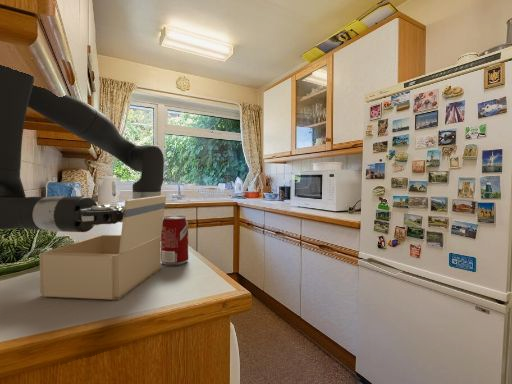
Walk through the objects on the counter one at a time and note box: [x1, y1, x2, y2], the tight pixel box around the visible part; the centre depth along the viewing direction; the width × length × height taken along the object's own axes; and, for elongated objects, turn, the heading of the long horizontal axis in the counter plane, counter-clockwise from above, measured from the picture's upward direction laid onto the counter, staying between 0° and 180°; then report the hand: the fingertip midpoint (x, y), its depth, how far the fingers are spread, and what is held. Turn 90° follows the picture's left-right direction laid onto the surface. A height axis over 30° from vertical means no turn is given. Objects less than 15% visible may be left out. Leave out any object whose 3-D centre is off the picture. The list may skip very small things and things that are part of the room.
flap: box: [119, 195, 167, 254], centre depth 56 cm, size 16×1×10 cm, turn 175°
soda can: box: [160, 214, 189, 267], centre depth 70 cm, size 7×7×12 cm
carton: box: [38, 234, 162, 301], centre depth 57 cm, size 18×15×8 cm
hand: (144, 215), depth 56 cm, fingers closed
